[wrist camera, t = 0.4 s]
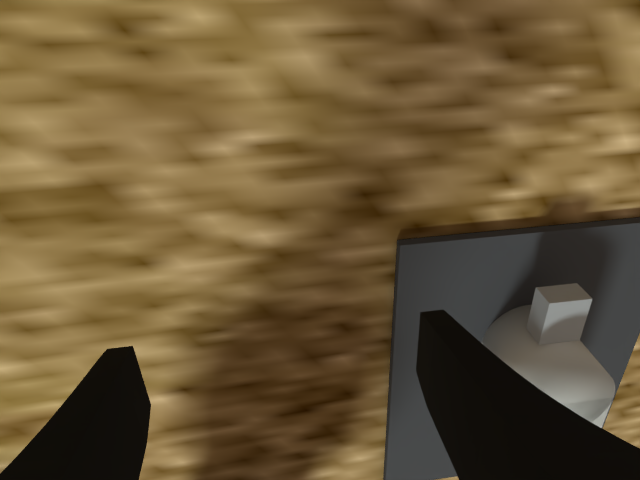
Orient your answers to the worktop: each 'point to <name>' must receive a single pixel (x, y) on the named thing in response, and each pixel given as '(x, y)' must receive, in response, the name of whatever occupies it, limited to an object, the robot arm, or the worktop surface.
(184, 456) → the worktop surface
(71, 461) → the robot arm
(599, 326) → the rubber mat
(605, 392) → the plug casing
